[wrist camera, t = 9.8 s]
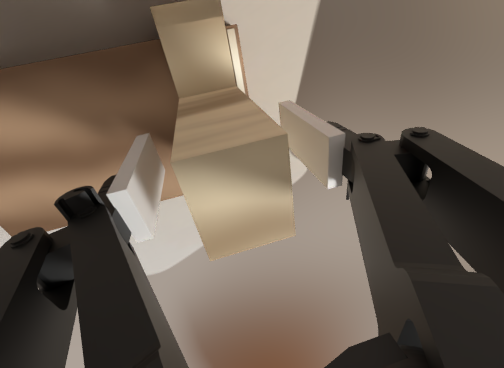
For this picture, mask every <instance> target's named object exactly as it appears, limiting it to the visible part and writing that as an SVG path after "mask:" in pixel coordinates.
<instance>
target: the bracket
mask: <svg viewBox="0 0 504 368" xmlns="http://www.w3.org/2000/svg"><path fill="white" fill-rule="evenodd" d="M150 10H151V13H152V16H153V19H154V22H155V25H156V28H157V31H158V34H159V37H160V41H161V44H162V47H163V50H164V53H165V56H166V59H167V62H168V65H169V68H170V71H171V75H172V78H173V81H174V84H175V87H176V90H177V93H178V96H179V103H178V111H177V118H176V125H175V133H174V140H173V147H172V155H171V162H170V163H171V165H172V168H173V170H174V173H175V175H176V178H177V180H178V183H179V185H180V188H181V190H182V192H183V195H184V197H185V200H186V202H187V205H188V207H189V210H190V212H191V215H192V217H193V220H194V222H195V225H196V227H197V230H198V232H199V235H200V237H201V239H202V242H203V244H204V247H205V249H206V252H207V254H208V257H209V259H210V261H213V260H216V259H219V258H223V257H226V256H229V255H233V254H236V253H240V252H243V251H246V250H249V249H253V248H256V247H260V246H263V245H266V244H269V243H273V242H276V241H279V240H283V239H286V238H290V237H293V236H296V234H295V222H294V209H293V197H292V183H291V170H290V157H289V144H288V133H287V132H286V131H284V130H283V129H282V128H281V127H280V126H279V125H278V124H277V123H276V122H275V121H274V120H273V119H272V118H270V117H269V116H268V115H267V114H266V113H265V112H264V111H263V110H262V109H261V108H260V107H259V106H257V105H256V104H255V103H254V102H253V101H252V100H251V99H250V98H249V97H248V96H247V95H246V94H245V93H243V92H242V91H241V90H240V89H239V88H238V87H237V86H236V82H235V76H234V71H233V66H232V60H231V55H230V49H229V44H228V39H227V33H226V28H225V23H224V17H223V12H222V6H221V1H220V0H186V1H181V2H175V3H169V4H163V5H158V6H152V7H150Z"/></svg>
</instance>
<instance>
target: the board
mask: <svg viewBox="0 0 504 368" xmlns="http://www.w3.org/2000/svg"><path fill="white" fill-rule="evenodd" d="M225 28H226V33H227V39H228V44H229V49H230V55H231V60H232V66H233V71H234V76H235V82H236V86H237V87H238V88H239V89H240V90H241V91H242V92H243V93H245V94H246V95H247V96H248V89H247V83H246V77H245V71H244V65H243V58H242V52H241V46H240V40H239V34H238V27H237V24H235V25H230V26H225ZM248 97H249V96H248ZM178 103H179V96H178V93H177V90H176V87H175V84H174V81H173V78H172V75H171V71H170V68H169V65H168V62H167V59H166V56H165V53H164V50H163V47H162V44H161V41H160V39H156V40H151V41H145V42H140V43H135V44H129V45H124V46H119V47H114V48H108V49H103V50H98V51H93V52H87V53H82V54H77V55H71V56H66V57H61V58H56V59H50V60H45V61H40V62H35V63H29V64H24V65H19V66H13V67H8V68H3V69H0V226H1V227H2V228H3V229H4V230H5V231H6V232H8V233H9V234H10V235H11V236H14V235H17V233H19V232H22V231H25V230H28V229H31V228H35V227H42V228H43V229H44V230H45V231H50V230H54V229H58V228H61V227H65V226H68V221H67V220H66V219H65V218H64V216H63V215H62V214H61V213H60V212H59V210H58V209H57V208H56V207H55V205H54V203H55V201H56V200H57V199H58V198H59V197H60V196H62V195H63V194H65V193H66V192H68V191H71V190H73V189H75V188H78V187H82V186H92V187H93V188H94V189H95V191H96V192H97V194H98V192H99V190H100V189H101V186H102V185H103V183H104V182H105V181H106V180H107V179H108V178H109V177H110V176H113V175H117V173H118V171H119V169H120V167H121V165H122V163H123V161H124V159H125V158H126V156H127V154H128V152H129V150H130V148H131V146H132V144H133V142H134V140H135V138H136V137H137V136H139V135H143V134H147V133H149V134H150V136H151V138H152V141H153V143H154V145H155V148H156V150H157V152H158V155H159V157H160V159H161V162H162V164H163V166H164V169H165V175H164V181H163V187H162V193H161V199H160V201H163V200H167V199H171V198H174V197H178V196H182V195H183V192H182V190H181V188H180V185H179V183H178V180H177V178H176V175H175V173H174V170H173V168H172V165H171V163H170V162H171V155H172V147H173V140H174V133H175V125H176V118H177V111H178Z"/></svg>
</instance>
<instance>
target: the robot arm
mask: <svg viewBox="0 0 504 368" xmlns="http://www.w3.org/2000/svg"><path fill="white" fill-rule="evenodd" d="M279 112H280V123H281V128H282V129H283V130H284V131H286V132H287V133H288V144H289V149H290V150H291V151H292V152H293V153H294V154H295V155H296V156H297V157H298V158H299V159H300V160H301V162H302V163H303V164H304V165H305V166H306V167H307V168H308V169H309V170H310V171H311V172H312V173H313V174H314V175H315V176H316V177H317V179H319V180H320V182H321V183H322V184H323V185H324V186H325V187H326V188H327V189H330V188H334V187H338V186H341V185H342V176H343V175H344V176H345V177H346V178H347V179H348V184H347V196H346V199H347V200H348V199H349V197H350V201H351V206H352V210H353V215H354V219H355V224H356V228H357V233H358V237H359V242H360V246H361V251H362V255H363V260H364V263H365V268H366V273H367V277H368V281H369V286H370V291H371V295H372V300H373V304H374V309H375V313H376V317H377V323H378V335H379V336H378V337H375V338H373V339H370V340H367V341H365V342H362V343H359V344H357V345H354V346H351V347H349V348H348V349H346V350H345V351H344V352H343V353H342V354H340V355H339V356H338V357H337V358H335V359H334V360H333V361H332V362H331V363H329V364H328V365H327V366H326V367H324V368H504V167H503V166H501V165H499V164H498V163H496V162H494V161H492V160H490V159H488V158H486V157H484V156H482V155H480V154H478V153H476V152H475V151H473V150H471V149H469V148H467V147H465V146H463V145H461V144H459V143H457V142H455V141H453V140H451V139H449V138H448V137H446V136H444V135H442V134H440V133H438V132H436V131H434V130H431V129H426V128H424V127H420V128H419V127H415V128H409V129H405V130H404V131H402V134H401V139H400V140H395V141H385V140H384V138H383V137H382V136H380V135H378V134H373V133H361V134H356V133H354V132H352V131H350V130H348V129H347V128H345V127H342V126H341V125H339V124H338V123H334V122H329V121H328V122H325V121H323V120H322V119H320V118H318V117H317V116H315V115H313V114H312V113H310V112H308V111H307V110H305V109H303V108H302V107H300V106H298V105H296V104H295V103H293V102H291V101H290V100H289V101H285V102H281V103H279ZM428 168H430V169H431V171H432V178H431V179H429V178H428V177H427V176H426V174H427V171H428ZM164 175H165V169H164V166H163V164H162V162H161V159H160V157H159V155H158V152H157V150H156V148H155V145H154V143H153V141H152V138H151V136H150V134H149V133H147V134H143V135H139V136H137V137H136V138H135V140H134V142H133V144H132V146H131V148H130V150H129V152H128V154H127V156H126V158H125V159H124V161H123V163H122V165H121V167H120V169H119V171H118V173H117V175H113V176H110V177H109V178H108V179H107V180H106V181H105V182H104V183H103V185H102V186H101V189H100V190H99V192H98V194H97V192H96V191H95V189H94V188H93V187H92V186H82V187H78V188H75V189H73V190H71V191H68V192H66V193H65V194H63V195H62V196H60V197H59V198H58V199H57V200H56V201H55V203H54V205H55V207H56V208H57V209H58V210H59V212H60V213H61V214H62V215H63V216H64V218H65V219H66V220H67V221H68V226H67V227H65V228H63V229H60V230H58V231H56V232H53V233H51V234H48V233H47V232H46V231H45V230H44V229H43V228H42V227H35V228H31V229H28V230H25V231H22V232H19V233H17V235H14V236H12V237H11V239H9V240H8V241H7V242H6V243H5V244H4V245H3V246H2V247H1V248H0V368H65V365H66V359H67V355H68V350H69V345H70V340H71V335H72V331H73V325H74V321H75V316H76V311H77V307H78V314H79V323H80V331H81V340H82V348H83V357H84V365H85V368H189V367H188V365H187V363H186V361H185V359H184V356H183V354H182V352H181V350H180V348H179V346H178V343H177V341H176V339H175V337H174V335H173V333H172V330H171V329H170V326H169V324H168V322H167V320H166V317H165V316H164V313H163V311H162V309H161V307H160V305H159V302H158V300H157V298H156V296H155V294H154V292H153V289H152V287H151V285H150V283H149V281H148V279H147V276H146V274H145V272H144V270H143V268H142V266H141V264H140V261H139V259H138V257H137V255H136V253H135V251H134V248H133V247H132V245H131V244H130V242H129V240H130V236H131V235H132V236H133V238H134V239H135V241H136V242H137V243H139V242H142V241H146V240H150V239H153V238H154V235H155V229H156V223H157V217H158V211H159V205H160V199H161V193H162V187H163V181H164ZM448 243H449V244H450V245H451V246H452V247H453V248H454V249H455V250H456V251H457V252H458V253H459V254H460V255H461V256H462V257H463V258H464V259H465V260H466V261H467V263H468V264H470V266H471V267H472V268H473V269H474V270H475V271H476V272H477V273H474V272H468V271H466V270H465V269H464V268H463V266H462V265H461V263H460V262H459V260H458V258H457V257H456V255H455V253H454V252H453V250H452V248H451V247H450V245H449V244H448ZM38 288H39V290H38Z"/></svg>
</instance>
